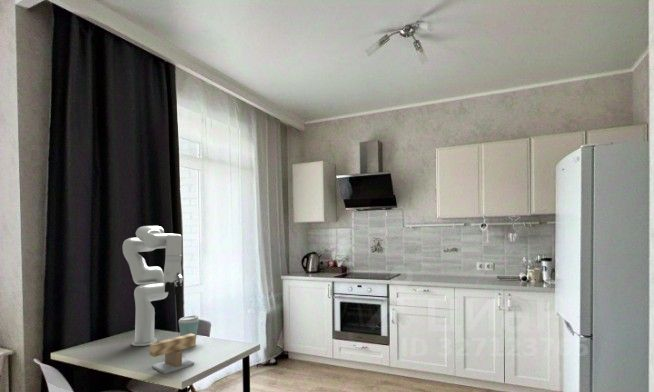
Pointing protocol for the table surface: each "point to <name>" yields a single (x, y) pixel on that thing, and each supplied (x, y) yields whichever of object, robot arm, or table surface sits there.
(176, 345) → the oak bar
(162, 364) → the stand
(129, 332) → the table surface
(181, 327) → the disposable coffee cup
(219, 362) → the table surface
